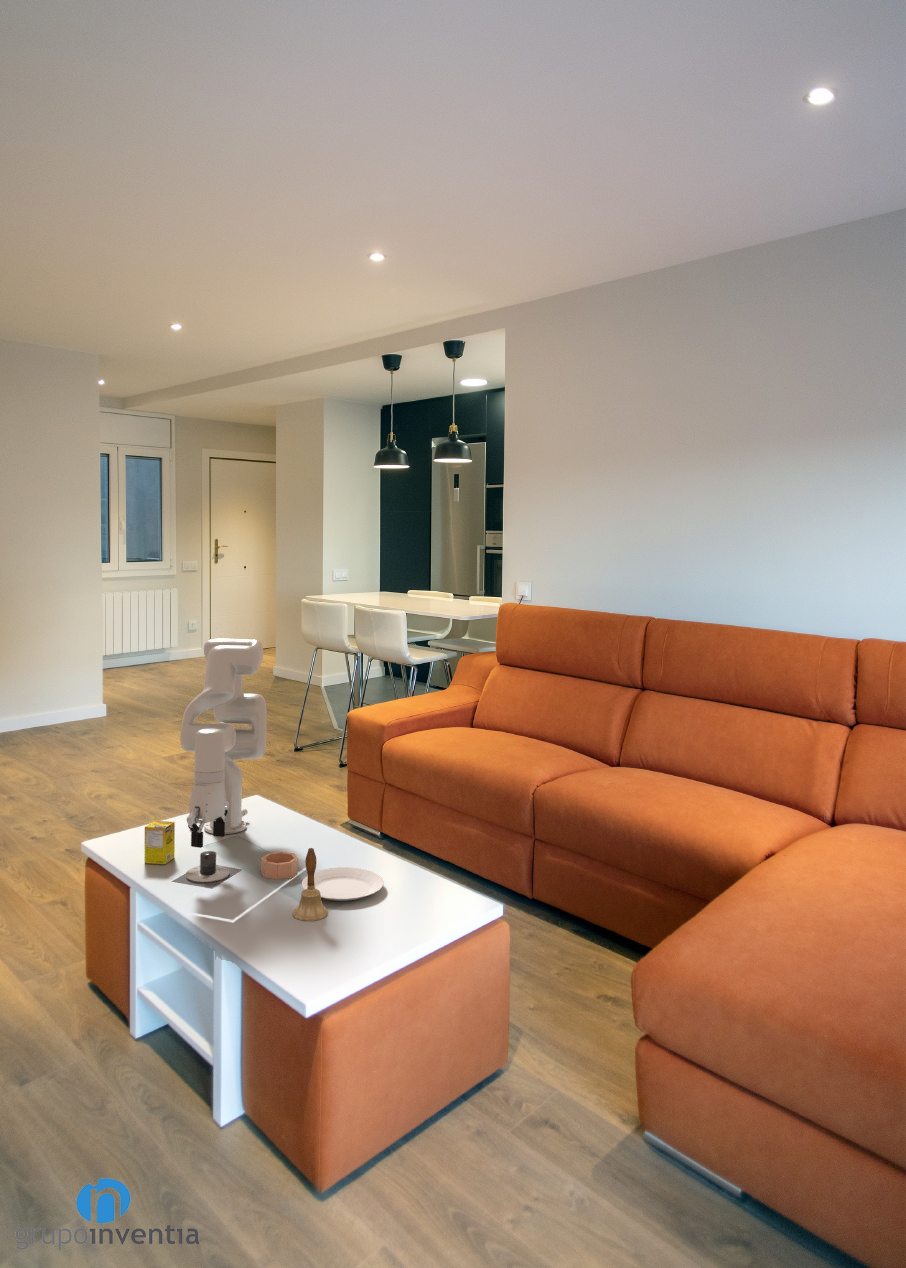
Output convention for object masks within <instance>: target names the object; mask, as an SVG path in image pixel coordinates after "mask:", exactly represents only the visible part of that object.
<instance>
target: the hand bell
mask: <svg viewBox="0 0 906 1268" xmlns="http://www.w3.org/2000/svg"><path fill="white" fill-rule="evenodd" d="M304 863H305V869H306V874H307V876H308V881H307V882H308V883H307V885H308V886H307V889H305V890H304V889H303V890H302V892H301V895H300V901H299V904H298V906H297V907H296V908H295V909H294V910H293V912H292V916H293V917H294V919H296V920H299V921H303V922H315V921H320V920H322V919H324V918H326V917H327V916H328V915H329V911H328V909H327V908H326V907H325V905H324V904H323V901H322V898H321V895H320V891H319V890H318V889H315V884H314V873H315V872H316V868H317V855H316V851H315V848H312V847H310V848H308V849H307V853H306V857H305V862H304Z"/></svg>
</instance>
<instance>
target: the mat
mask: <svg viewBox="0 0 906 1268" xmlns="http://www.w3.org/2000/svg"><path fill="white" fill-rule="evenodd" d="M226 867H227V868H228V869H229V870H230V875H229V876H228V877H227V878H226V879H224V880H221V881H218V882H213V883H195V882H191V881H189V880H187V879H186V873H183V874H182V875H180V876H178V877H177V878H175V879H174V880H173V879H172V881H171V882H174V883H177V884H185V885H190V886H195V887H201V888H207V889H214V888H216V887H217V886H219V885H221V884H222V883H224V882H225V881H227V880H228V879H230V878H231V877H233V876H235V875H236V874H238V873H239V872H242V870H243V869H242V868H236V867H229V866H226Z"/></svg>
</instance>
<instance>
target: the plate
mask: <svg viewBox="0 0 906 1268" xmlns="http://www.w3.org/2000/svg"><path fill="white" fill-rule="evenodd" d="M307 881H308V875H306V876H305V877H304V878H303V879H302V882H301V887H302V889H303V891H304V890H305V889H307V886H308V885H307V883H308V882H307ZM314 884H315V889H318V890H319V891H320V895H321V899H324V900H328V901H337V902H346V901H349V902H350V901H354V900H359V899H362V898H366V897H367V896H370V895H373V894H375V893H377V892H379V891H380V890H381V889H382V888H383V886H384V884H385V883H384V879H383V877H381V876H380V875H379V874H378V873H376V872H374V871H371V870H368V869H364V868H359V867H344V866H343V867H331V868H330V867H329V868H325V869H320V870H317V871H315V873H314Z"/></svg>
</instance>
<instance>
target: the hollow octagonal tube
mask: <svg viewBox="0 0 906 1268" xmlns="http://www.w3.org/2000/svg"><path fill="white" fill-rule="evenodd" d="M298 867H299V857H298V856H297V855H296V854H295V853H293V852H286V851H276V852H269V853H267V854H265V855H263V856H262V857H261V858H260V873H261V875H262V876H263V878H268V879H272V880H282V879H283V880H284V879H288V880H292V879H293V878H295V877H296V876H298V874H299V868H298Z"/></svg>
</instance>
